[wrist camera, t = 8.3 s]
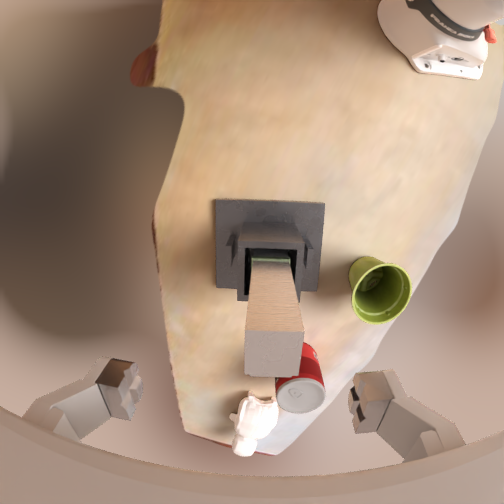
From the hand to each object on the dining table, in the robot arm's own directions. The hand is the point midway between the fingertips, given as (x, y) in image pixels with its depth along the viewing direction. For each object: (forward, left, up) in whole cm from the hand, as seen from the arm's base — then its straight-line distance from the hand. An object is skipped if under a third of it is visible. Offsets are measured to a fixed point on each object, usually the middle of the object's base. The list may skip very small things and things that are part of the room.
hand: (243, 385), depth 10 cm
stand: (-2, +5, -36) cm, 37 cm away
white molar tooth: (0, +42, -37) cm, 56 cm away
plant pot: (-18, +9, -37) cm, 42 cm away
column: (-2, +6, -29) cm, 30 cm away
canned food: (-8, +26, -37) cm, 46 cm away
